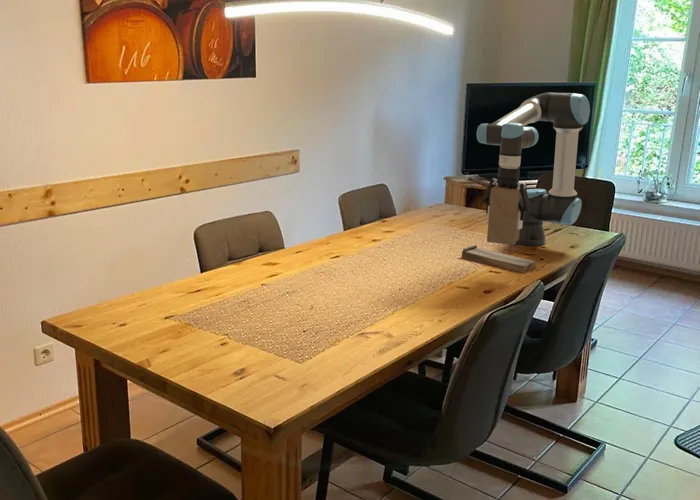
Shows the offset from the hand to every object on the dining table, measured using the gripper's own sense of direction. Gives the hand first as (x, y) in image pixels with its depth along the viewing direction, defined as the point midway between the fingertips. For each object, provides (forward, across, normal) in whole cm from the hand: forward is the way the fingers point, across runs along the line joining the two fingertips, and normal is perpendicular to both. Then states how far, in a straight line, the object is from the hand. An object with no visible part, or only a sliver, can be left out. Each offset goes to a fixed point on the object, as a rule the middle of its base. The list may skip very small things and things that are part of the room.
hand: (504, 225), depth 253 cm
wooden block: (+6, 0, 0) cm, 6 cm away
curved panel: (+19, -9, +13) cm, 24 cm away
